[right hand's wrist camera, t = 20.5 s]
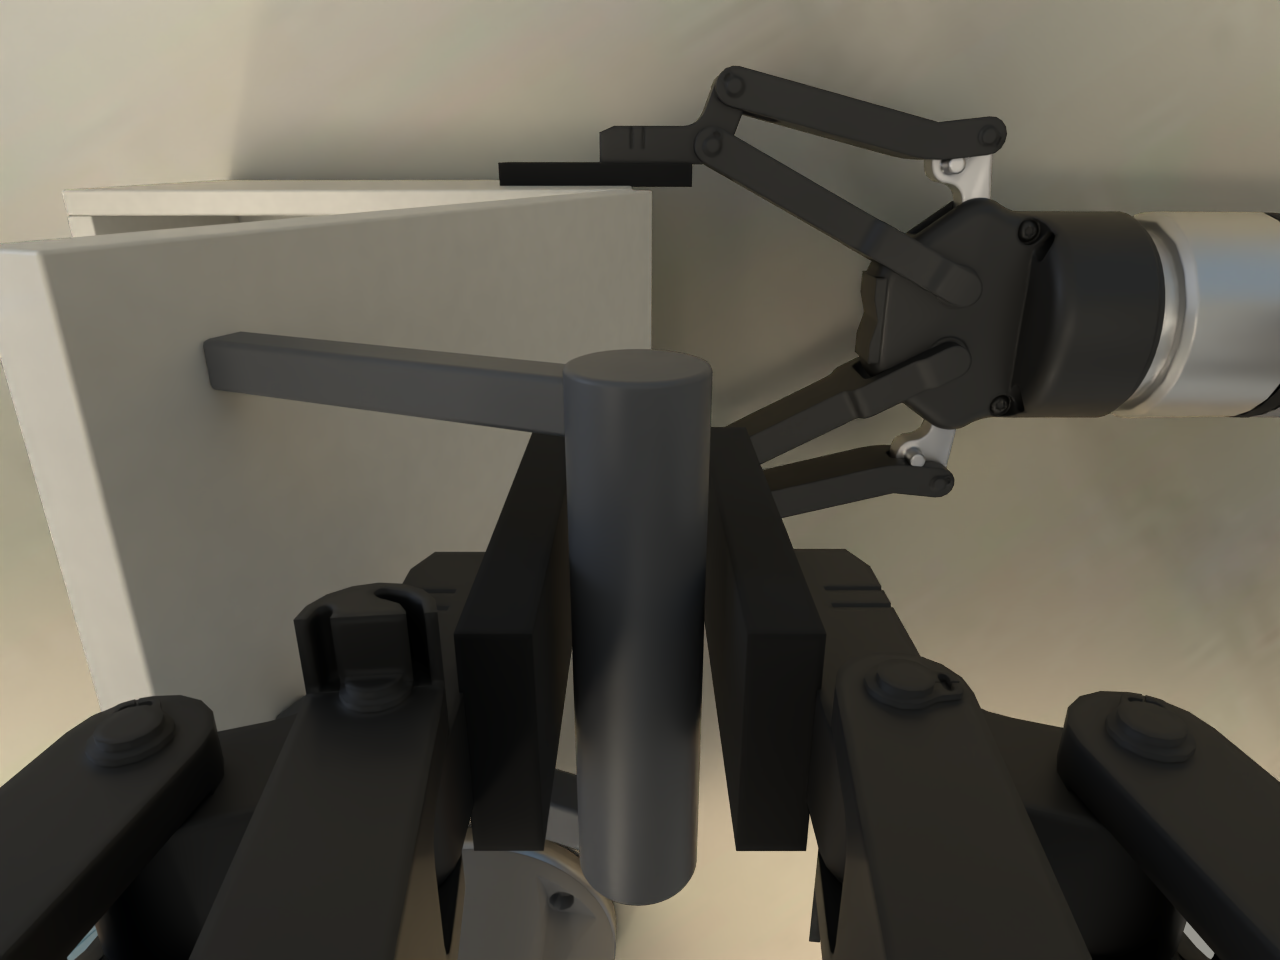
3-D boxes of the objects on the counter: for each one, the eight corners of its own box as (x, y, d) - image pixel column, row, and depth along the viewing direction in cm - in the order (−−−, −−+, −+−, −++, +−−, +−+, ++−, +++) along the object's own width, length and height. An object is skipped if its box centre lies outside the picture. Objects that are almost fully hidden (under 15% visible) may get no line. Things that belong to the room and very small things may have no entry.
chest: (259, 393, 38) (129, 478, 28) (222, 180, 35) (59, 189, 25) (630, 391, 39) (634, 475, 29) (630, 179, 35) (633, 188, 25)
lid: (144, 872, 13) (632, 1083, 10) (-34, 246, 9) (629, 286, 6) (618, 479, 28) (861, 516, 25) (614, 190, 25) (895, 194, 22)
